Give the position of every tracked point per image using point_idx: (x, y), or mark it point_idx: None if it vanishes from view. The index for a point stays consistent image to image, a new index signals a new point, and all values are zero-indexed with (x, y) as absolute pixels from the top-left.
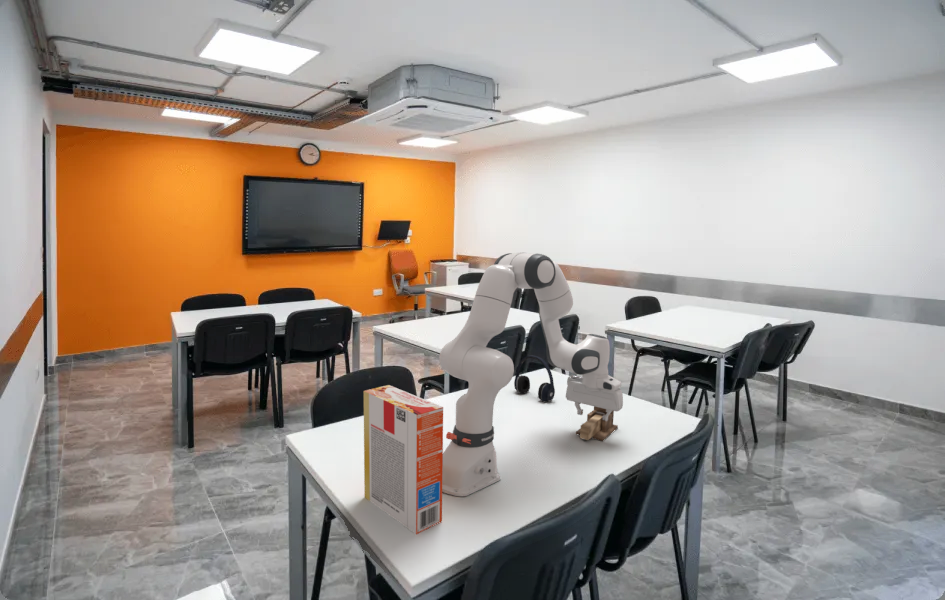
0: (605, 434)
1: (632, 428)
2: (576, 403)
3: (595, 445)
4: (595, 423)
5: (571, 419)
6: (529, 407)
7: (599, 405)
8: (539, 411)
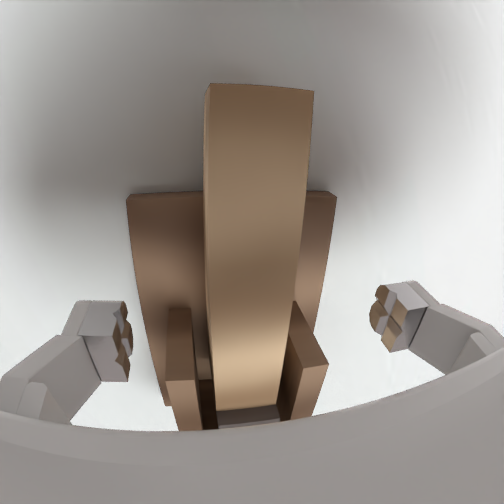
0: (146, 277)
1: (120, 416)
2: (493, 341)
3: (141, 92)
4: (208, 272)
5: (383, 346)
6: (496, 321)
7: (125, 471)
8: (478, 318)
